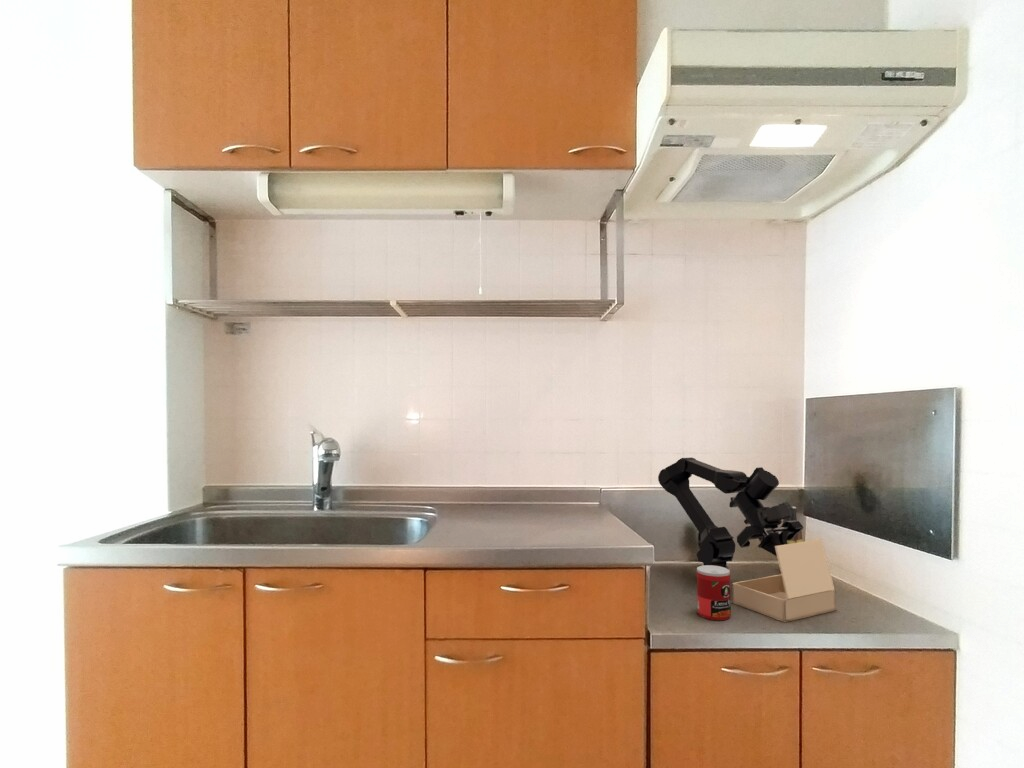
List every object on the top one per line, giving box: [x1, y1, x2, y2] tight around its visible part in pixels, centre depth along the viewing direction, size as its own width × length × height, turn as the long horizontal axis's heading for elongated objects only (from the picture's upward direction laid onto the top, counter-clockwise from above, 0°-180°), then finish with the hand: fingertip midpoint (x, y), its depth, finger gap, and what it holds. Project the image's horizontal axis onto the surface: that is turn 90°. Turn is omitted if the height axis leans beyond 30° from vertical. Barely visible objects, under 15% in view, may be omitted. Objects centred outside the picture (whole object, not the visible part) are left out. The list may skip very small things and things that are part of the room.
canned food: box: [696, 565, 732, 621], centre depth 145 cm, size 8×8×11 cm
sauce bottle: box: [781, 505, 804, 544], centre depth 182 cm, size 7×6×20 cm
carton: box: [731, 573, 837, 623], centre depth 151 cm, size 16×18×5 cm
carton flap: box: [775, 538, 835, 599], centre depth 145 cm, size 12×16×1 cm
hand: (790, 562), depth 149 cm, fingers closed
